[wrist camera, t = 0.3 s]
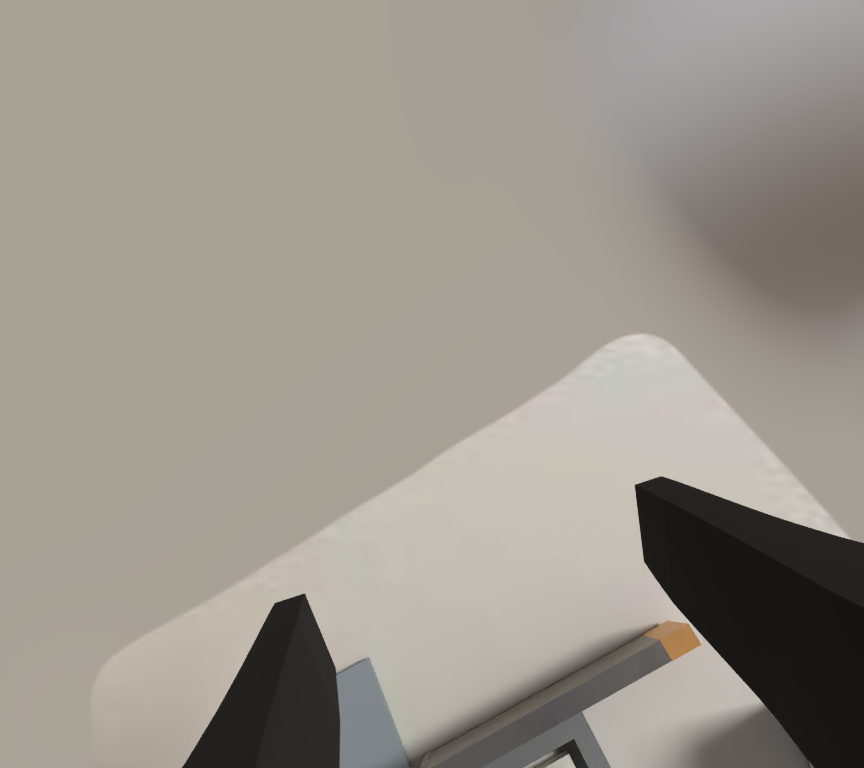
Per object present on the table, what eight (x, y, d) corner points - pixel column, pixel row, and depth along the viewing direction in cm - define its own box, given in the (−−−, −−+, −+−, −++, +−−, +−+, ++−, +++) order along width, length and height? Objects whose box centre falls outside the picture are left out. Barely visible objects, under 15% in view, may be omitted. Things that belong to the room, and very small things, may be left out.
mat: (417, 783, 34) (415, 786, 33) (261, 870, 33) (257, 875, 32) (368, 657, 37) (366, 658, 36) (225, 734, 36) (220, 736, 35)
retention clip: (679, 640, 35) (705, 646, 30) (428, 780, 33) (418, 808, 29) (666, 619, 35) (690, 623, 31) (419, 756, 34) (407, 781, 30)
